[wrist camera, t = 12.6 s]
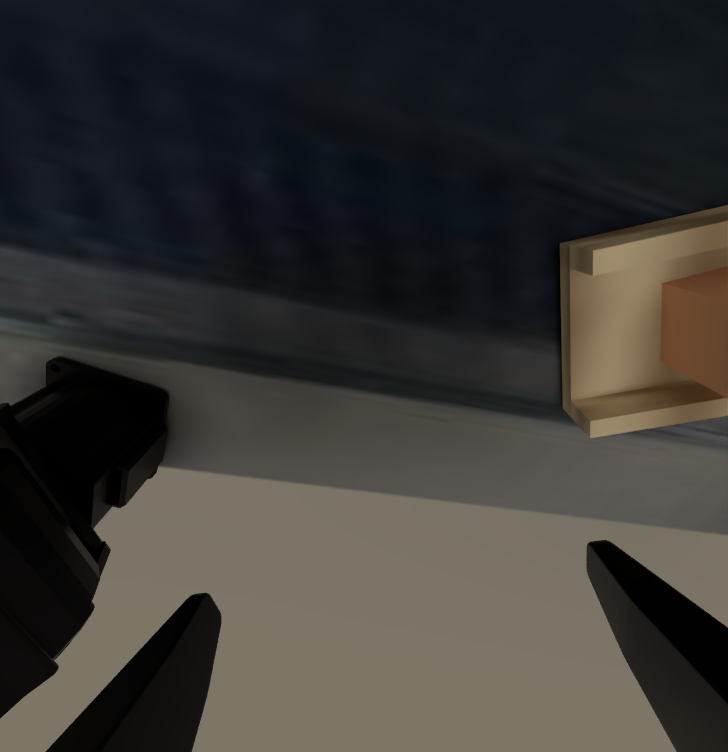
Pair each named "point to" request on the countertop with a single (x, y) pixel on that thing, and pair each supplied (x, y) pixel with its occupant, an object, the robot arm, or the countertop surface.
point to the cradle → (632, 323)
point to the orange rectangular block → (697, 328)
